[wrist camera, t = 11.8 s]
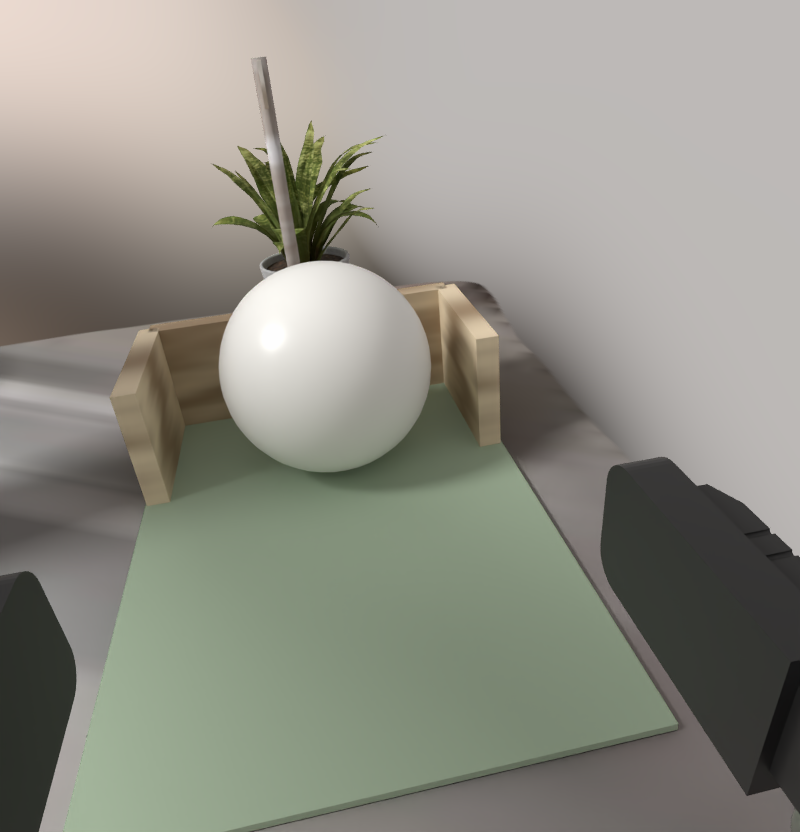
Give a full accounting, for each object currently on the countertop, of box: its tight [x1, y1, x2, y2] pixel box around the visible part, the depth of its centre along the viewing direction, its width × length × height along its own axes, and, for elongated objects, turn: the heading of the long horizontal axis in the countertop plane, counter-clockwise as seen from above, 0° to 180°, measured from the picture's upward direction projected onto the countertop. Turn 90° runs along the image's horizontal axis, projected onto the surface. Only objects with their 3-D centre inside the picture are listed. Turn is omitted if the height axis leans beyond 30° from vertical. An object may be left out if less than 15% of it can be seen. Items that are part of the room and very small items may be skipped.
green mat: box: [63, 383, 678, 832], centre depth 33 cm, size 28×20×1 cm
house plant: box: [213, 121, 382, 279], centre depth 50 cm, size 14×14×16 cm
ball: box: [219, 261, 431, 472], centre depth 35 cm, size 11×11×11 cm
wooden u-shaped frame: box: [110, 57, 501, 506], centre depth 36 cm, size 11×19×20 cm, turn 101°
